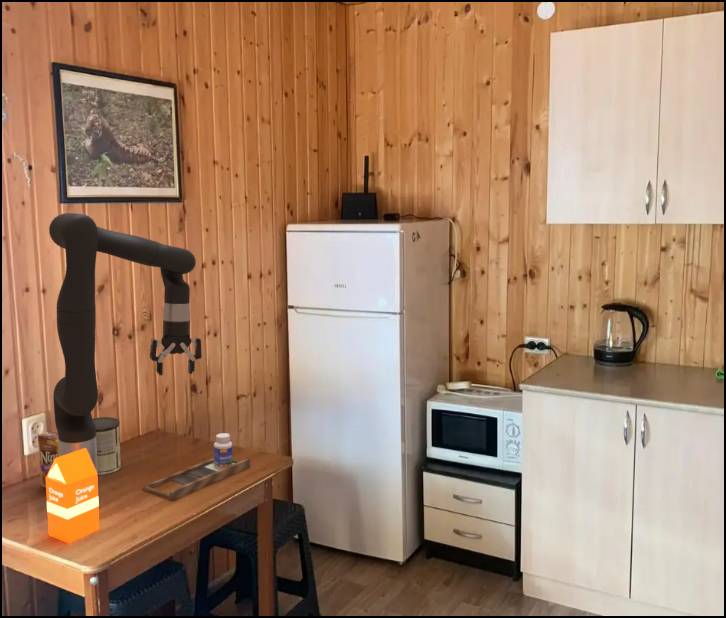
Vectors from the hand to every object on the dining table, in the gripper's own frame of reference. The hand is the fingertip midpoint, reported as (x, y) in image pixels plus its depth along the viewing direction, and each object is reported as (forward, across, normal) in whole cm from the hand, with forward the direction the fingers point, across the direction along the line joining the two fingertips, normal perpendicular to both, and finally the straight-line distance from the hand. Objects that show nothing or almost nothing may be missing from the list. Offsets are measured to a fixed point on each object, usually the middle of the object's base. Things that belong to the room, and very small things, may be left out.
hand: (175, 374), depth 211 cm
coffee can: (+30, -18, +11) cm, 37 cm away
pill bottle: (+28, +14, -3) cm, 32 cm away
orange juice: (+31, -30, -28) cm, 52 cm away
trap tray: (+29, +5, -8) cm, 30 cm away
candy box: (+31, -32, +1) cm, 44 cm away
